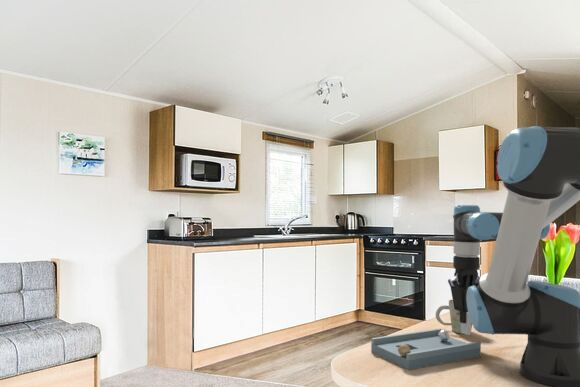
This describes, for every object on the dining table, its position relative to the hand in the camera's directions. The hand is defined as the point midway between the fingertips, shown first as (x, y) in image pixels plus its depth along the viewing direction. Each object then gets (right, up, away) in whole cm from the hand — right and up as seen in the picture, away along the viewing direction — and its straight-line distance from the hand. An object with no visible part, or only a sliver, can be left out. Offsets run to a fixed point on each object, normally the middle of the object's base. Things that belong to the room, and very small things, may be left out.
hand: (465, 333), depth 143 cm
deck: (-15, -3, -9) cm, 17 cm away
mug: (+3, -4, +17) cm, 18 cm away
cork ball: (-23, +1, -18) cm, 30 cm away
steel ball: (-8, 0, -4) cm, 9 cm away
